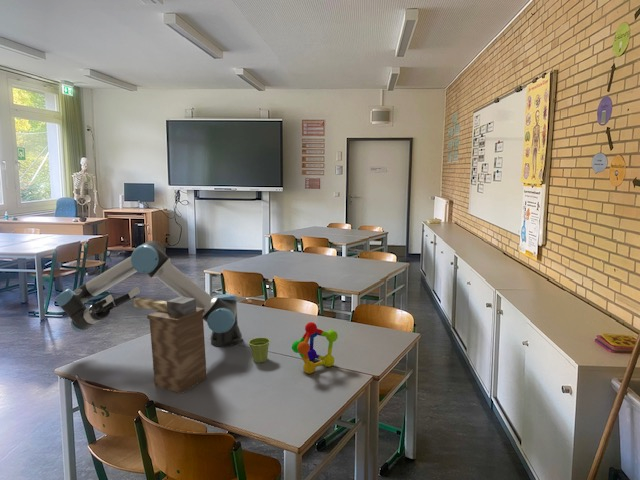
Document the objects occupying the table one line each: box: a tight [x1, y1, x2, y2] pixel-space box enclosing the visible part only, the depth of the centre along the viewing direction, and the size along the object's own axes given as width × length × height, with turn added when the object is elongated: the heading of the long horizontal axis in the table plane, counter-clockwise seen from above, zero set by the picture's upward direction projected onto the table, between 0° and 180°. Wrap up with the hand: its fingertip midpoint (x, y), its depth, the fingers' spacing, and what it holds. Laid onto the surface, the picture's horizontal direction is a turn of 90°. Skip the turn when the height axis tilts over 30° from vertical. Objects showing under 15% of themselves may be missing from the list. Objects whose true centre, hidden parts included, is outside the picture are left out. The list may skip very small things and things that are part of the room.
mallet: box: [133, 296, 196, 317], centre depth 181 cm, size 28×7×5 cm, turn 64°
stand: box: [146, 307, 208, 394], centre depth 180 cm, size 15×15×29 cm
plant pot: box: [248, 337, 271, 363], centre depth 201 cm, size 9×9×9 cm
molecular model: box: [291, 321, 338, 375], centre depth 193 cm, size 21×15×20 cm
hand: (125, 293), depth 189 cm, fingers open, 13 cm apart
